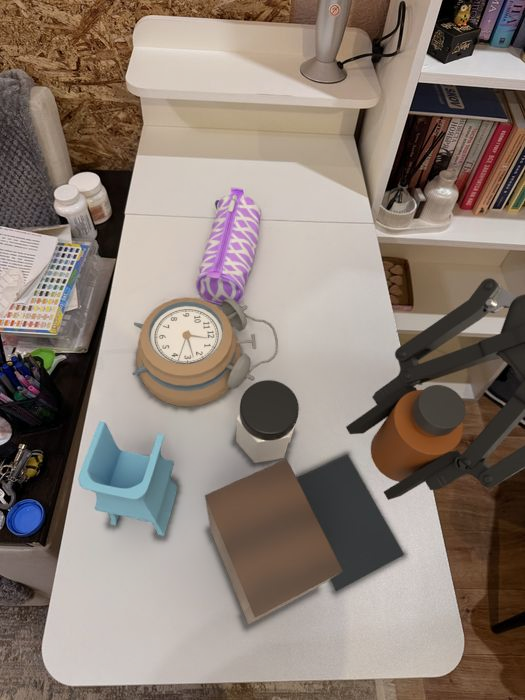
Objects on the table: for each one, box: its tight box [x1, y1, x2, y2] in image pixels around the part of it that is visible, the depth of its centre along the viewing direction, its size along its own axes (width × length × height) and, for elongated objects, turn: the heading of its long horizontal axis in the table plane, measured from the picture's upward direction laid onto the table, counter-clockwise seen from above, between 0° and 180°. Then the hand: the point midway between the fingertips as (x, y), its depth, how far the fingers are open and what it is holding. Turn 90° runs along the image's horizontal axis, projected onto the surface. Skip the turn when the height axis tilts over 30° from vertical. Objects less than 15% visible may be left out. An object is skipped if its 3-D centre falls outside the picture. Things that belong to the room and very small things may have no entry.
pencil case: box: [195, 187, 262, 306], centre depth 93 cm, size 22×9×10 cm, turn 173°
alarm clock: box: [131, 297, 279, 408], centre depth 82 cm, size 17×9×23 cm
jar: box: [235, 379, 300, 464], centre depth 75 cm, size 9×8×12 cm
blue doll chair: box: [77, 420, 178, 537], centre depth 65 cm, size 8×8×20 cm
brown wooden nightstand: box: [204, 458, 343, 625], centre depth 62 cm, size 13×10×20 cm
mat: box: [296, 454, 405, 592], centre depth 74 cm, size 16×11×1 cm
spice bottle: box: [370, 384, 467, 483], centre depth 43 cm, size 6×6×11 cm
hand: (373, 460), depth 45 cm, fingers closed on spice bottle, 6 cm apart
